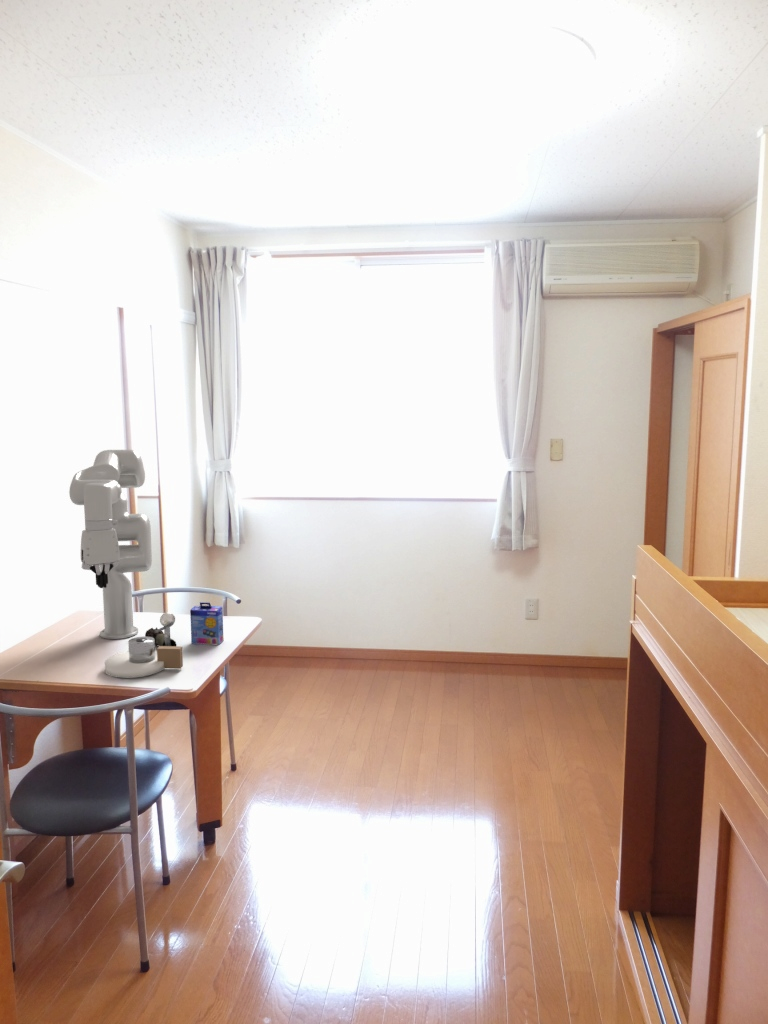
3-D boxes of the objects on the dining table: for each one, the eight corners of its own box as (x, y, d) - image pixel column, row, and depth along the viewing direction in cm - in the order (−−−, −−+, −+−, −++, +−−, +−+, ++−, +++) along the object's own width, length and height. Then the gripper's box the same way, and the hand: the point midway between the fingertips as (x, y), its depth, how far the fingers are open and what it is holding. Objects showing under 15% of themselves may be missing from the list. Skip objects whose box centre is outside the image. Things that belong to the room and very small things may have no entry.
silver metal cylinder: (134, 665, 221) (133, 645, 220) (125, 658, 227) (124, 638, 226) (159, 660, 226) (158, 640, 225) (149, 653, 232) (149, 634, 231)
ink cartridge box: (190, 644, 250) (189, 603, 248) (195, 639, 255) (194, 598, 253) (219, 645, 249) (217, 603, 247) (224, 640, 254) (222, 599, 252)
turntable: (95, 677, 218) (93, 656, 217) (119, 656, 236) (118, 637, 235) (171, 678, 217) (171, 657, 216) (190, 657, 235) (190, 638, 234)
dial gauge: (150, 655, 239) (148, 613, 237) (172, 650, 243) (170, 609, 242) (156, 659, 235) (154, 617, 233) (178, 654, 239) (177, 613, 237)
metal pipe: (177, 650, 243) (175, 634, 242) (156, 655, 239) (155, 637, 238) (161, 640, 257) (159, 624, 257) (141, 643, 254) (140, 627, 253)
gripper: (120, 521, 222) (123, 581, 225) (68, 526, 213) (72, 588, 216) (129, 524, 216) (131, 585, 219) (75, 529, 207) (79, 593, 210)
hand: (102, 586), depth 217 cm, fingers closed
